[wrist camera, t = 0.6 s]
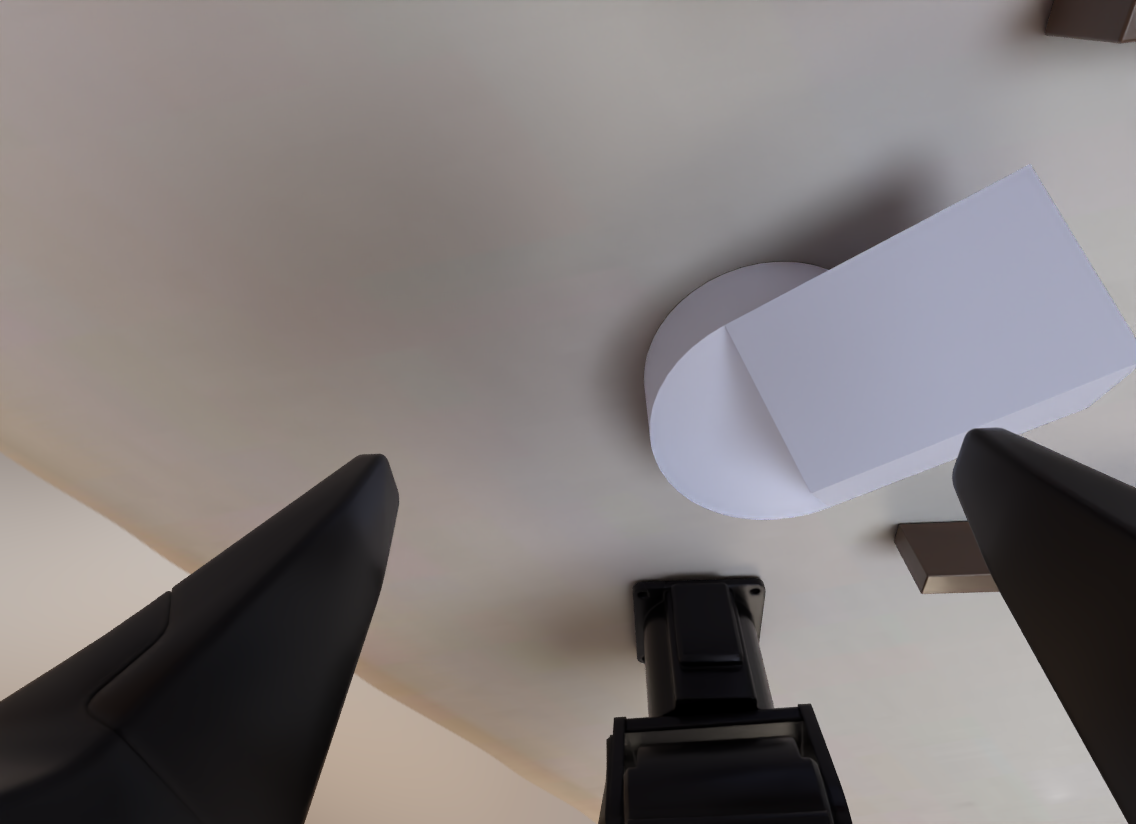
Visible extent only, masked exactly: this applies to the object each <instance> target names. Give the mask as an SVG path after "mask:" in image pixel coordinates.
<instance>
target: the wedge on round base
mask: <svg viewBox="0 0 1136 824" xmlns="http://www.w3.org/2000/svg"><path fill="white" fill-rule="evenodd" d="M1135 369H1136V338H1135V336H1134V334H1133V333H1132V331H1131V329H1130V328H1129V326H1128V324H1127V323H1126V321H1125V320H1124V318H1123V316H1122V315H1121V313H1120V311H1119V310H1118V308H1117V306H1116V305H1115V303H1114V301H1113V300H1112V298H1111V296H1110V295H1109V293H1108V291H1107V290H1106V288H1105V286H1104V285H1103V283H1102V282H1101V280H1100V278H1099V277H1098V275H1097V273H1096V272H1095V270H1094V268H1093V267H1092V265H1091V263H1090V262H1089V260H1088V258H1087V257H1086V255H1085V253H1084V252H1083V250H1082V248H1081V247H1080V245H1079V243H1078V242H1077V240H1076V239H1075V237H1074V235H1073V234H1072V232H1071V230H1070V229H1069V227H1068V225H1067V224H1066V222H1065V220H1064V219H1063V217H1062V215H1061V214H1060V212H1059V210H1058V209H1057V207H1056V205H1055V204H1054V202H1053V201H1052V199H1051V197H1050V196H1049V194H1048V192H1047V191H1046V189H1045V187H1044V186H1043V184H1042V182H1041V181H1040V179H1039V177H1038V176H1037V174H1036V172H1035V171H1034V169H1033V167H1032V166H1031V164H1029V165H1027V166H1025V167H1023V168H1022V169H1020V170H1018V171H1016V172H1014V173H1012V174H1010V175H1008V176H1006V177H1004V178H1003V179H1001V180H999V181H997V182H995V183H993V184H991V185H989V186H987V187H986V188H984V189H982V190H980V191H978V192H976V193H974V194H972V195H970V196H968V197H967V198H965V199H963V200H961V201H959V202H957V203H955V204H953V205H951V206H950V207H948V208H946V209H944V210H942V211H940V212H938V213H936V214H934V215H932V216H931V217H929V218H927V219H925V220H923V221H921V222H919V223H917V224H915V225H914V226H912V227H910V228H908V229H906V230H904V231H902V232H900V233H898V234H896V235H895V236H893V237H891V238H889V239H887V240H885V241H883V242H881V243H879V244H877V245H876V246H874V247H872V248H870V249H868V250H866V251H864V252H862V253H860V254H859V255H857V256H855V257H853V258H851V259H849V260H847V261H845V262H843V263H841V264H840V265H838V266H836V267H834V268H832V269H830V270H828V269H825V268H822V267H819V266H815V265H810V264H805V263H799V262H770V263H760V264H755V265H751V266H746V267H742V268H739V269H736V270H733V271H731V272H728V273H725V274H723V275H721V276H719V277H717V278H715V279H713V280H710V281H708V282H707V283H705V284H704V285H702V286H701V287H699V288H698V289H696V290H694V291H693V292H692V293H691V294H689V295H688V296H687V297H686V298H685V299H683V300H682V301H681V302H680V303H679V304H678V305H677V306H676V307H675V308H674V309H673V310H672V311H671V312H670V314H669V315H668V316H667V317H666V319H665V320H664V322H663V323H662V324H661V326H660V327H659V329H658V331H657V333H656V335H655V336H654V338H653V340H652V343H651V345H650V348H649V351H648V354H647V358H646V363H645V368H644V387H645V396H646V405H647V415H648V424H649V433H650V441H651V448H652V451H653V454H654V457H655V460H656V462H657V464H658V466H659V468H660V470H661V472H662V473H663V475H664V476H665V477H666V479H667V480H668V481H669V483H670V484H671V485H672V486H673V487H674V488H675V489H676V490H677V491H678V492H680V493H681V494H682V495H684V496H685V497H686V498H688V499H689V500H691V501H692V502H694V503H696V504H698V505H700V506H702V507H703V508H706V509H709V510H711V511H714V512H716V513H719V514H723V515H727V516H731V517H737V518H743V519H755V520H774V519H785V518H792V517H798V516H803V515H807V514H811V513H815V512H818V511H821V510H824V509H827V508H830V507H833V506H835V505H838V504H840V503H843V502H846V501H848V500H851V499H853V498H856V497H858V496H861V495H864V494H866V493H869V492H871V491H874V490H877V489H879V488H882V487H884V486H887V485H890V484H892V483H895V482H897V481H900V480H903V479H905V478H908V477H910V476H913V475H915V474H918V473H921V472H923V471H926V470H928V469H931V468H934V467H936V466H939V465H941V464H944V463H947V462H949V461H952V460H954V459H957V457H958V454H959V451H960V448H961V445H962V442H963V439H964V437H965V435H966V433H967V432H968V431H969V430H971V429H974V428H993V427H998V428H1003V429H1006V430H1008V431H1010V432H1013V433H1015V434H1017V435H1019V434H1022V433H1024V432H1027V431H1030V430H1032V429H1035V428H1037V427H1040V426H1043V425H1045V424H1048V423H1050V422H1053V421H1055V420H1058V419H1061V418H1063V417H1066V416H1068V415H1071V414H1074V413H1076V412H1079V411H1081V410H1084V409H1087V408H1088V407H1089V406H1091V405H1092V404H1093V403H1094V402H1096V401H1097V400H1098V399H1099V398H1101V397H1102V396H1103V395H1104V394H1105V393H1107V392H1108V391H1109V390H1110V389H1112V388H1113V387H1114V386H1115V385H1117V384H1118V383H1119V382H1120V381H1121V380H1123V379H1124V378H1125V377H1126V376H1128V375H1129V374H1130V373H1131V372H1133V371H1134V370H1135Z"/></svg>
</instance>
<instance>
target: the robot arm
mask: <svg viewBox="0 0 1136 824" xmlns="http://www.w3.org/2000/svg"><path fill="white" fill-rule="evenodd" d="M952 479H953V485H954V488H955V491H956V493H957V496H958V498H959V501H960V503H961V506H962V508H963V510H964V513H965V515H966V518H967V520H968V523H969V525H970V527H971V530H972V532H973V535H974V537H975V539H976V542H977V544H978V547H979V549H980V552H981V554H982V556H983V559H984V561H985V563H986V566H987V568H988V570H989V572H990V574H991V576H992V578H993V580H994V582H995V584H996V586H997V588H998V590H999V591H1000V593H1001V595H1002V597H1003V599H1004V600H1005V602H1006V604H1007V606H1008V608H1009V609H1010V611H1011V613H1012V615H1013V617H1014V618H1015V620H1016V622H1017V624H1018V626H1019V627H1020V629H1021V631H1022V633H1023V635H1024V636H1025V638H1026V640H1027V642H1028V644H1029V645H1030V647H1031V649H1032V651H1033V653H1034V654H1035V656H1036V658H1037V660H1038V662H1039V663H1040V665H1041V667H1042V669H1043V671H1044V673H1045V674H1046V676H1047V678H1048V680H1049V682H1050V683H1051V685H1052V687H1053V689H1054V691H1055V692H1056V694H1057V696H1058V698H1059V700H1060V701H1061V703H1062V705H1063V707H1064V709H1065V710H1066V712H1067V714H1068V716H1069V718H1070V719H1071V721H1072V723H1073V725H1074V727H1075V728H1076V730H1077V732H1078V734H1079V736H1080V737H1081V739H1082V741H1083V743H1084V745H1085V746H1086V748H1087V750H1088V752H1089V754H1090V755H1091V757H1092V759H1093V761H1094V763H1095V764H1096V766H1097V768H1098V770H1099V772H1100V773H1101V775H1102V777H1103V779H1104V781H1105V782H1106V784H1107V786H1108V788H1109V790H1110V791H1111V793H1112V795H1113V797H1114V799H1115V800H1116V802H1117V804H1118V806H1119V808H1120V809H1121V811H1122V813H1123V815H1124V817H1125V819H1126V820H1127V822H1128V824H1136V488H1134V487H1132V486H1130V485H1128V484H1126V483H1123V482H1121V481H1119V480H1117V479H1114V478H1112V477H1110V476H1108V475H1106V474H1103V473H1101V472H1099V471H1097V470H1095V469H1092V468H1090V467H1088V466H1086V465H1083V464H1081V463H1079V462H1077V461H1075V460H1072V459H1070V458H1068V457H1066V456H1063V455H1061V454H1059V453H1057V452H1055V451H1052V450H1050V449H1048V448H1046V447H1044V446H1041V445H1039V444H1037V443H1035V442H1032V441H1030V440H1028V439H1026V438H1024V437H1021V436H1019V435H1017V434H1015V433H1013V432H1010V431H1008V430H1006V429H1003V428H998V427H993V428H974V429H971V430H969V431H968V432H967V433H966V435H965V437H964V439H963V442H962V445H961V448H960V451H959V454H958V457H957V460H956V463H955V466H954V469H953V475H952ZM398 507H399V493H398V489H397V486H396V483H395V480H394V477H393V474H392V471H391V468H390V465H389V462H388V460H387V458H386V457H385V456H384V455H382V454H363V455H358V456H357V457H355V458H354V459H352V460H351V461H350V462H348V463H347V464H345V465H344V466H342V467H341V468H340V469H338V470H337V471H335V472H334V473H333V474H331V475H330V476H328V477H327V478H326V479H324V480H323V481H321V482H320V483H319V484H317V485H316V486H314V487H313V488H312V489H310V490H309V491H307V492H306V493H305V494H303V495H302V496H300V497H299V498H298V499H296V500H295V501H293V502H292V503H291V504H289V505H288V506H286V507H285V508H284V509H282V510H281V511H279V512H278V513H277V514H275V515H274V516H272V517H271V518H269V519H268V520H267V521H265V522H264V523H262V524H261V525H260V526H258V527H257V528H255V529H254V530H253V531H251V532H250V533H248V534H247V535H246V536H244V537H243V538H241V539H240V540H239V541H237V542H236V543H234V544H233V545H232V546H230V547H229V548H227V549H226V550H225V551H223V552H222V553H220V554H219V555H218V556H216V557H215V558H213V559H212V560H210V561H209V562H208V563H206V564H205V565H203V566H202V567H201V568H199V569H198V570H196V571H195V572H194V573H192V574H191V575H189V576H188V577H187V578H185V579H184V580H182V581H181V582H180V583H178V584H177V585H175V586H174V587H173V588H172V592H171V591H167V592H165V593H164V594H163V595H161V596H160V597H158V598H157V599H156V600H154V601H153V602H151V603H150V604H149V605H147V606H146V607H144V608H143V609H142V610H140V611H139V612H137V613H136V614H135V615H133V616H132V617H130V618H129V619H127V620H126V621H124V622H123V623H121V624H120V625H118V626H117V627H115V628H114V629H113V630H111V631H110V632H108V633H107V634H106V635H104V636H102V637H101V638H99V639H98V640H96V641H95V642H93V643H92V644H90V645H88V646H87V647H85V648H84V649H82V650H81V651H79V652H77V653H76V654H74V655H73V656H71V657H70V658H68V659H67V660H65V661H64V662H62V663H60V664H59V665H57V666H56V667H54V668H53V669H51V670H49V671H48V672H46V673H45V674H43V675H41V676H40V677H38V678H37V679H35V680H34V681H32V682H30V683H29V684H27V685H26V686H24V687H22V688H21V689H19V690H18V691H16V692H15V693H13V694H11V695H10V696H8V697H7V698H5V699H3V700H2V701H0V824H304V823H305V820H306V817H307V814H308V811H309V807H310V805H311V801H312V798H313V796H314V792H315V789H316V786H317V783H318V780H319V777H320V774H321V771H322V768H323V765H324V762H325V759H326V756H327V753H328V750H329V747H330V744H331V741H332V738H333V735H334V732H335V729H336V726H337V723H338V720H339V717H340V714H341V711H342V708H343V705H344V701H345V698H346V695H347V692H348V689H349V686H350V683H351V680H352V677H353V674H354V671H355V668H356V665H357V662H358V659H359V656H360V653H361V650H362V647H363V644H364V641H365V638H366V635H367V632H368V629H369V626H370V623H371V620H372V616H373V613H374V610H375V607H376V604H377V601H378V598H379V595H380V591H381V588H382V584H383V580H384V576H385V571H386V566H387V561H388V556H389V551H390V546H391V541H392V537H393V532H394V527H395V522H396V517H397V512H398ZM764 599H765V587H764V583H763V581H762V580H760V579H756V578H750V579H719V580H687V581H656V582H639V583H637V584H635V585H634V586H633V600H634V615H635V630H636V645H637V659H638V661H639V662H641V663H645V667H646V683H647V698H648V714H649V717H645V718H631V719H626V717H615V718H614V726H613V735H610V737H609V738H608V739H607V772H606V783H605V789H604V794H603V800H602V805H601V811H600V817H599V822H598V824H852V820H851V816H850V813H849V809H848V806H847V802H846V799H845V796H844V793H843V790H842V787H841V784H840V781H839V778H838V776H837V773H836V770H835V768H834V765H833V762H832V759H831V757H830V754H829V751H828V749H827V746H826V743H825V740H824V738H823V735H822V732H821V730H820V727H819V724H818V722H817V719H816V716H815V713H814V711H813V708H812V705H811V704H798V707H787V708H774V705H773V701H772V697H771V692H770V688H769V684H768V680H767V676H766V672H765V667H764V663H763V659H762V655H761V651H760V646H759V638H760V630H761V623H762V615H763V607H764Z"/></svg>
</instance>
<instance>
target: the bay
mask: <svg viewBox="0 0 1136 824" xmlns="http://www.w3.org/2000/svg"><path fill="white" fill-rule="evenodd" d="M1045 35H1047V36H1056V37H1066V38H1075V39H1084V40H1093V41H1103V42H1112V43H1128V42H1136V0H1054V3H1053V6H1052V10H1051V13H1050V16H1049V20H1048V23H1047V27H1046V30H1045ZM894 543H895V545H896V547H897V548H898V550H899V552H900V554H901V556H902V558H903V560H904V562H905V564H906V566H907V567H908V569H909V571H910V573H911V575H912V577H913V579H914V581H915V583H916V584H917V586H918V588H919V590H920V592H921V593H922V594H936V593H970V592H1000V591H999V590H998V588H997V586H996V584H995V582H994V580H993V578H992V576H991V574H990V572H989V570H988V568H987V566H986V563H985V561H984V559H983V556H982V554H981V552H980V549H979V547H978V544H977V542H976V539H975V537H974V535H973V532H972V530H971V527H970V525H969V523H968V522H943V523H918V524H899V526H898V530H897V533H896V537H895V540H894Z"/></svg>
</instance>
